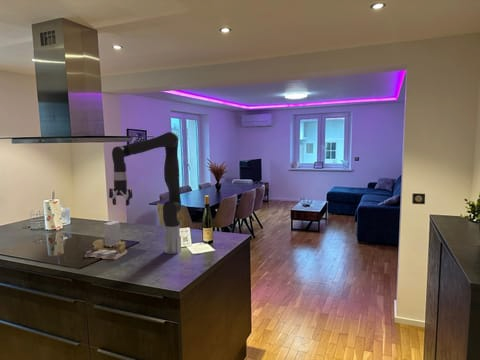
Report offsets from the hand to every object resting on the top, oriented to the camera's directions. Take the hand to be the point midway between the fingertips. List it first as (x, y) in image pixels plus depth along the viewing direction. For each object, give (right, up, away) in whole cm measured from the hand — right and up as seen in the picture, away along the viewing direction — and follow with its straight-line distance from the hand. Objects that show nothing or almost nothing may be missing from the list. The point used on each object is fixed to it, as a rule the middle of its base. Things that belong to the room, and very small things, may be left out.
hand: (121, 205), depth 194 cm
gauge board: (-8, -30, -2) cm, 31 cm away
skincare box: (-12, -28, +17) cm, 35 cm away
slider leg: (-15, -28, 0) cm, 32 cm away
